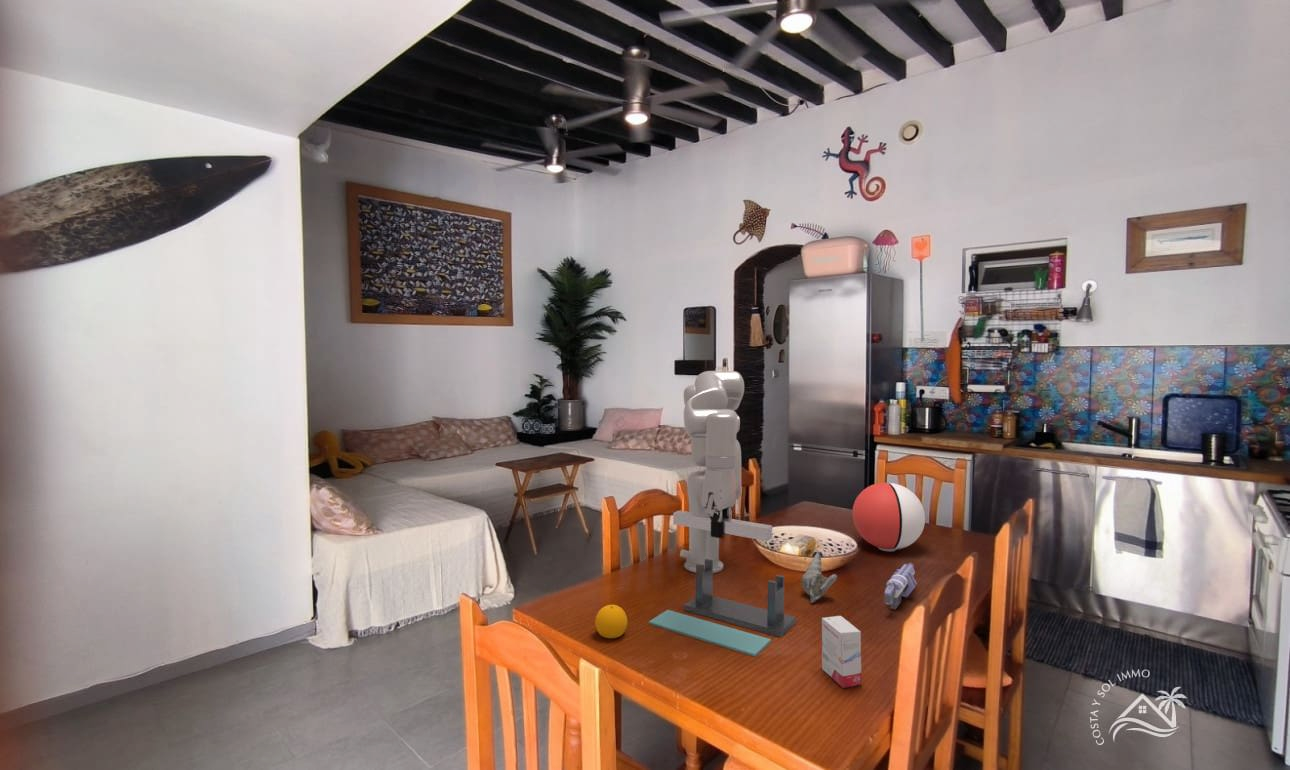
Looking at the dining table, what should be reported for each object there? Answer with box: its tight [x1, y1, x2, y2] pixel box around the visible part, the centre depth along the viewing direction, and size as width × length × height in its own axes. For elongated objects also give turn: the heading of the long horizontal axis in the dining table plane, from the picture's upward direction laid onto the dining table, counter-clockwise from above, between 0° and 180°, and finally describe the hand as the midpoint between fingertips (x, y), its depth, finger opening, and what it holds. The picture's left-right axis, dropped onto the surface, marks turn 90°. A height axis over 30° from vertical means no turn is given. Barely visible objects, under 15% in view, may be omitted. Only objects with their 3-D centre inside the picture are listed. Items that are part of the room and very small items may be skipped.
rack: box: [683, 559, 797, 638], centre depth 166 cm, size 28×10×12 cm, turn 55°
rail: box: [672, 510, 773, 542], centre depth 156 cm, size 26×3×3 cm, turn 56°
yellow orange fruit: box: [594, 604, 628, 639], centre depth 155 cm, size 8×8×8 cm
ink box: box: [821, 615, 863, 689], centre depth 135 cm, size 9×5×12 cm, turn 13°
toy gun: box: [883, 562, 918, 610], centre depth 176 cm, size 7×28×8 cm, turn 145°
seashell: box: [801, 550, 838, 604], centre depth 180 cm, size 10×17×10 cm, turn 145°
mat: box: [648, 609, 772, 658], centre depth 157 cm, size 30×9×1 cm, turn 55°
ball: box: [852, 482, 926, 552], centre depth 221 cm, size 24×24×23 cm
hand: (720, 534), depth 156 cm, fingers closed on rail, 3 cm apart
